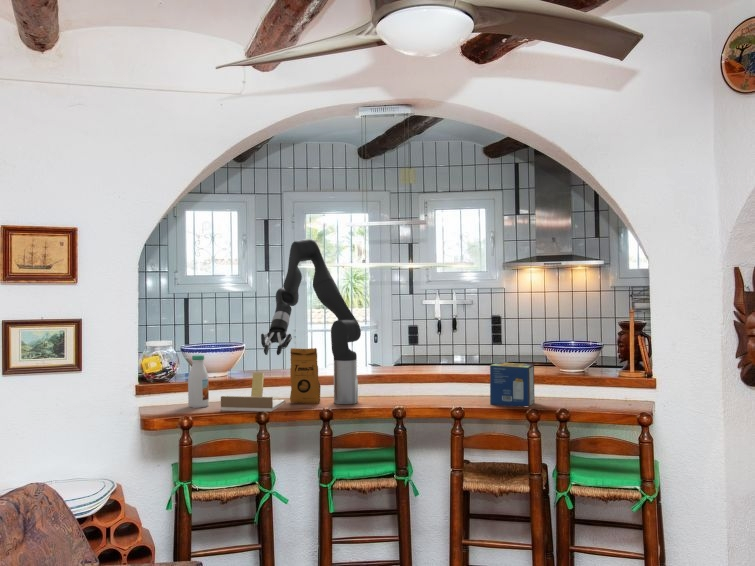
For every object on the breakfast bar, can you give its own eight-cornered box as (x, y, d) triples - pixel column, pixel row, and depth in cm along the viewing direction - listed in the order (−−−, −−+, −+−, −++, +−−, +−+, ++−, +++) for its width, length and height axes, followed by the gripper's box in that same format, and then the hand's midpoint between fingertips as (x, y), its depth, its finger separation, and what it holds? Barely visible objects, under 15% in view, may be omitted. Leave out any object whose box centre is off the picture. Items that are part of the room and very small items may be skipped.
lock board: (285, 402, 263) (285, 389, 263) (271, 411, 245) (271, 397, 245) (237, 401, 266) (237, 388, 266) (220, 410, 248) (220, 396, 248)
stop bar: (262, 401, 259) (264, 373, 262) (261, 400, 257) (263, 372, 260) (251, 401, 259) (254, 373, 262) (250, 400, 258) (252, 372, 261)
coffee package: (318, 405, 257) (318, 349, 257) (287, 405, 258) (287, 349, 258) (322, 400, 267) (322, 346, 267) (292, 400, 268) (292, 346, 268)
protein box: (496, 400, 266) (496, 362, 266) (534, 403, 259) (534, 363, 259) (489, 404, 256) (489, 365, 256) (528, 407, 249) (528, 367, 250)
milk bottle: (196, 408, 251) (196, 356, 251) (184, 406, 256) (183, 355, 256) (212, 405, 258) (212, 355, 258) (200, 403, 262) (200, 353, 262)
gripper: (262, 318, 289) (253, 348, 277) (293, 318, 287) (286, 348, 275) (266, 329, 294) (257, 359, 282) (297, 329, 292) (289, 359, 280)
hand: (271, 353), depth 278 cm, fingers open, 4 cm apart
